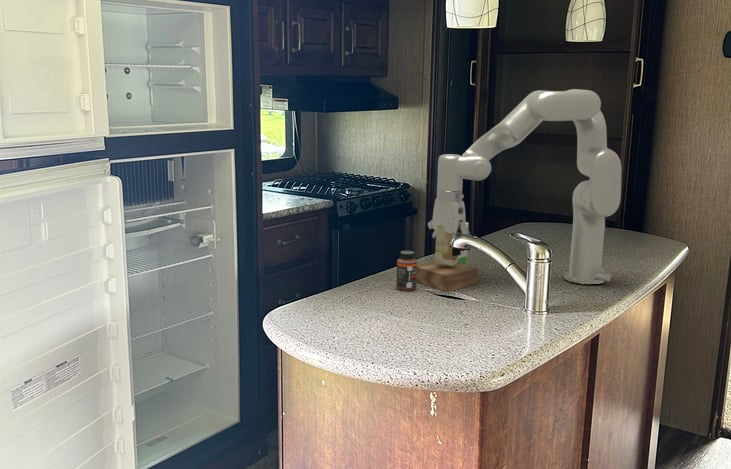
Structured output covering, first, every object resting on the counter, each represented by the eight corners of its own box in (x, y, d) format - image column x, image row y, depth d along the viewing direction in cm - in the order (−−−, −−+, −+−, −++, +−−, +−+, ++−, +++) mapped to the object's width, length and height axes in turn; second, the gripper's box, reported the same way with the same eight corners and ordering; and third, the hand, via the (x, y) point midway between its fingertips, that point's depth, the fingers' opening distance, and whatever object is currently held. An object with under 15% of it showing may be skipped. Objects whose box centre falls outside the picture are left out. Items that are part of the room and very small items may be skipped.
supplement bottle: (414, 292, 212) (415, 255, 209) (394, 290, 213) (395, 253, 211) (417, 286, 218) (418, 250, 215) (397, 285, 219) (398, 249, 216)
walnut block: (477, 283, 221) (478, 268, 220) (446, 292, 212) (447, 275, 211) (444, 274, 232) (445, 259, 231) (413, 281, 223) (414, 266, 222)
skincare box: (434, 263, 220) (435, 224, 217) (439, 260, 224) (440, 221, 221) (453, 266, 217) (455, 226, 215) (458, 262, 221) (460, 224, 218)
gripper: (479, 198, 212) (476, 256, 216) (437, 190, 225) (434, 245, 229) (462, 201, 207) (459, 260, 211) (420, 193, 220) (418, 249, 224)
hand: (446, 252), depth 220 cm, fingers closed on skincare box, 7 cm apart
